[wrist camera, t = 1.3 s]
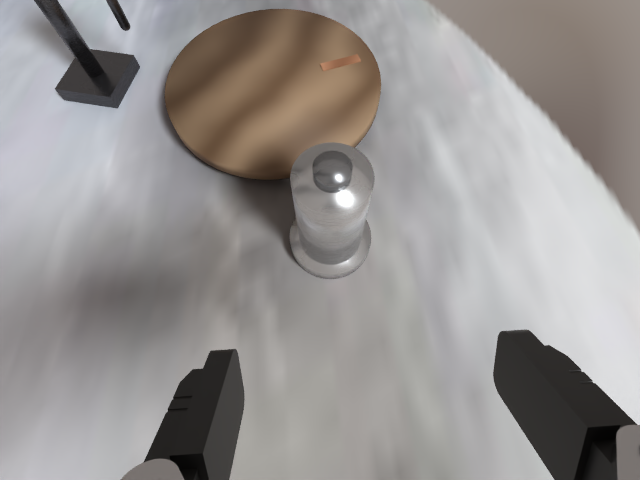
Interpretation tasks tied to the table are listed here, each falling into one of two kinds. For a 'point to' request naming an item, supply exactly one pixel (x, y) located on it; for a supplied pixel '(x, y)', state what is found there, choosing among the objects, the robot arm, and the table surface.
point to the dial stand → (91, 61)
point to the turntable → (271, 91)
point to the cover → (331, 209)
